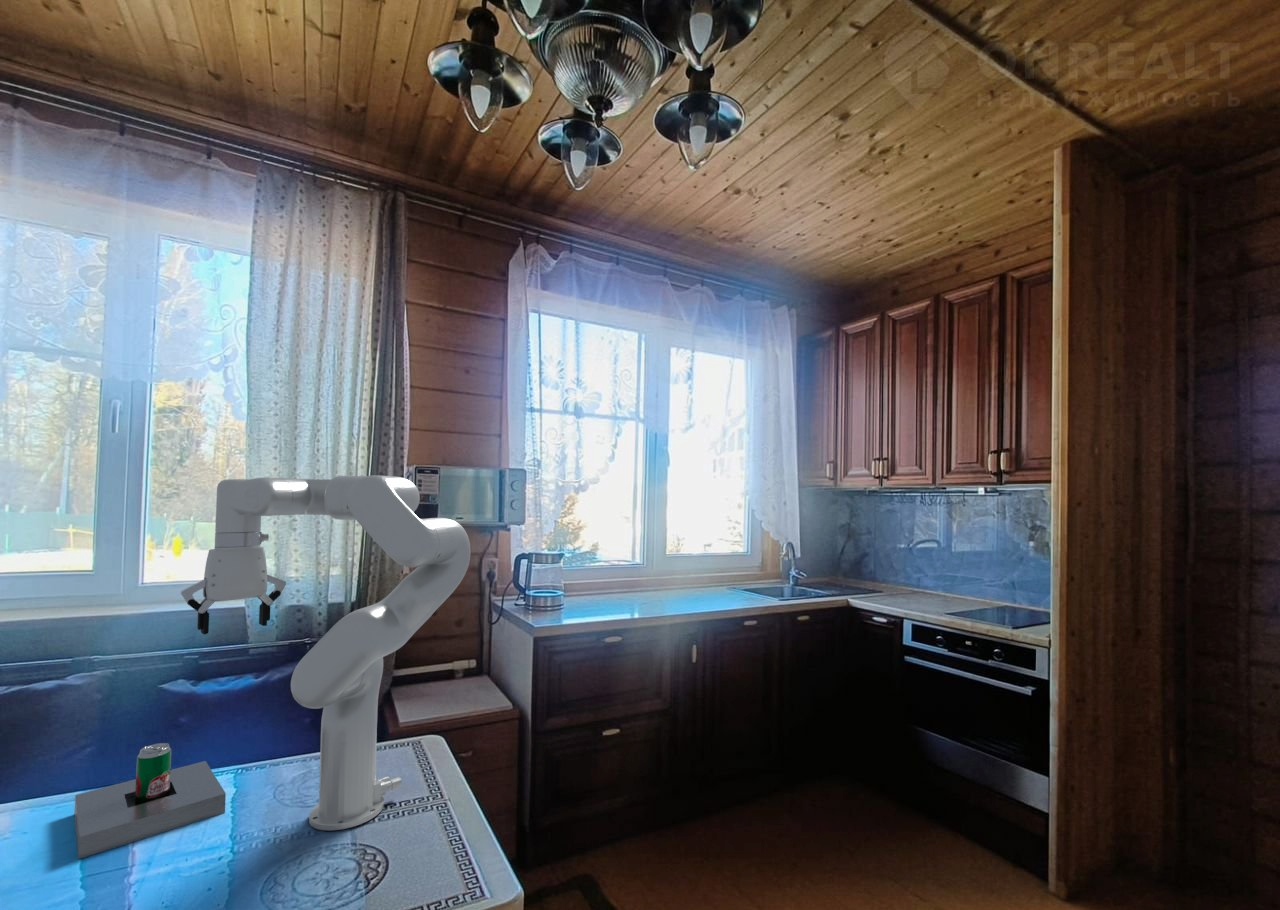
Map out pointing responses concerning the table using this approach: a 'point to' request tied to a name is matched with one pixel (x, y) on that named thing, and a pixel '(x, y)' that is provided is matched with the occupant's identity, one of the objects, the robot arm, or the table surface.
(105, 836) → the bore block
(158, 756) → the soda can
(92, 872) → the table surface
